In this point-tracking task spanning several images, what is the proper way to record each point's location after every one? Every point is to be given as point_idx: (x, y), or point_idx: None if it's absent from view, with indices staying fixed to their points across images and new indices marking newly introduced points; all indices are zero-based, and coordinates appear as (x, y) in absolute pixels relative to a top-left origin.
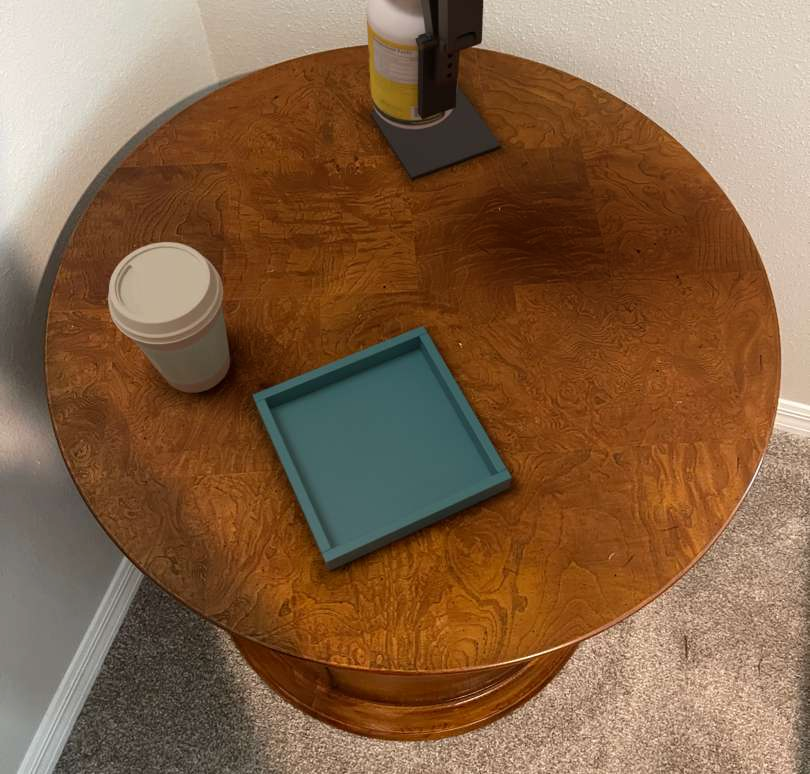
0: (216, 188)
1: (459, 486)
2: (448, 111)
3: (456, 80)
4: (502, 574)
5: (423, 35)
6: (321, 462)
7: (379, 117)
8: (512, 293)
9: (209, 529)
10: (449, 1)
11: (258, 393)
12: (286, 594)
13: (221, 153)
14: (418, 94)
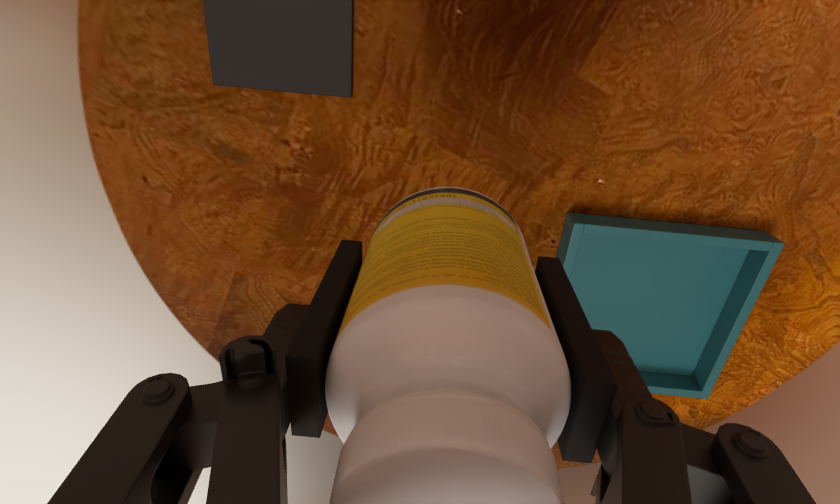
0: (268, 294)
1: (727, 269)
2: (523, 238)
3: (611, 332)
4: (818, 280)
5: (572, 454)
6: None
7: (227, 78)
8: (585, 83)
9: None
10: None
11: None
12: (685, 409)
13: (219, 270)
14: None
